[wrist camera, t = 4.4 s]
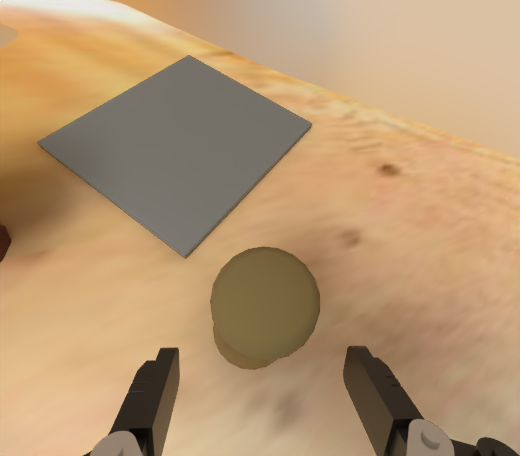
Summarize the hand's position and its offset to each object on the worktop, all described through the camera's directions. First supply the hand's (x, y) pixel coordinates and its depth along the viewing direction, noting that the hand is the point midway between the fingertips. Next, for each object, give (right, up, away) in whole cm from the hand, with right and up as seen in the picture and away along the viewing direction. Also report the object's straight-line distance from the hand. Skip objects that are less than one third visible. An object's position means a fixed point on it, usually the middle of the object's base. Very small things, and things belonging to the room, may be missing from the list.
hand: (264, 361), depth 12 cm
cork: (-1, -2, +9) cm, 9 cm away
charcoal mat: (-8, +17, +17) cm, 25 cm away
